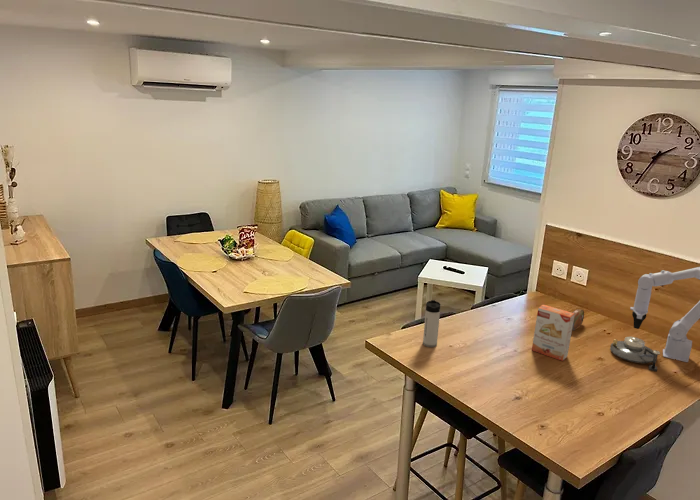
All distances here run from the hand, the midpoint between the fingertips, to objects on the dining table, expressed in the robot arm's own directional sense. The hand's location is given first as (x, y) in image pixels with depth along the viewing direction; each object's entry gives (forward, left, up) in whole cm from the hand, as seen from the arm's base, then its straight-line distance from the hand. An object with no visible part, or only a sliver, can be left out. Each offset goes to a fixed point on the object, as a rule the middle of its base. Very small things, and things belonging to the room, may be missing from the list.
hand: (636, 328), depth 241 cm
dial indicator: (-7, +21, -8) cm, 23 cm away
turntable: (0, +13, -7) cm, 15 cm away
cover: (0, +9, -6) cm, 11 cm away
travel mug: (+80, +52, -8) cm, 96 cm away
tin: (+26, -5, -9) cm, 28 cm away
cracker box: (+32, +32, -8) cm, 46 cm away
